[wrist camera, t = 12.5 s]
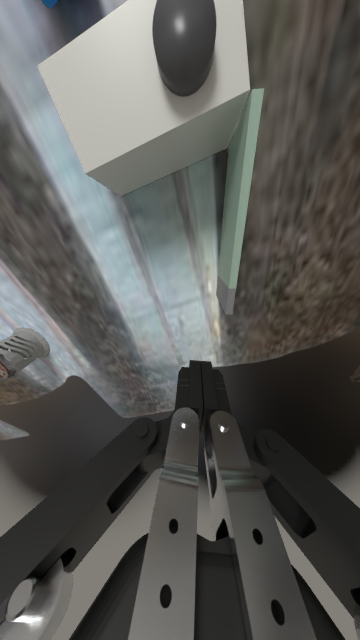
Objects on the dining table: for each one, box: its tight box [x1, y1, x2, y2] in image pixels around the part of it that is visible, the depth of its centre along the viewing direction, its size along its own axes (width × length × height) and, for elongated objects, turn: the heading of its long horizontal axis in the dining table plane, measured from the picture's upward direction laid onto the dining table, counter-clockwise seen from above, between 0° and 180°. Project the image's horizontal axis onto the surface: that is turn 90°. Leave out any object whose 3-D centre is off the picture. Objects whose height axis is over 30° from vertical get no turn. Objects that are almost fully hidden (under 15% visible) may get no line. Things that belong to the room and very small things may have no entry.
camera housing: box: [38, 0, 250, 196], centre depth 18 cm, size 18×8×12 cm, turn 108°
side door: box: [216, 88, 264, 315], centre depth 23 cm, size 22×1×10 cm, turn 1°
